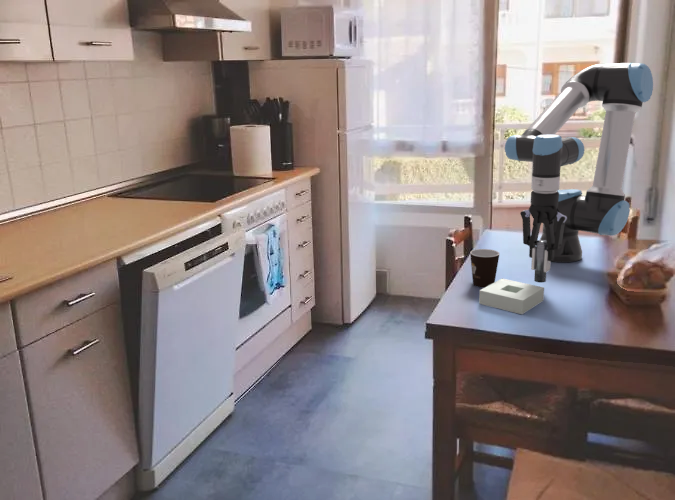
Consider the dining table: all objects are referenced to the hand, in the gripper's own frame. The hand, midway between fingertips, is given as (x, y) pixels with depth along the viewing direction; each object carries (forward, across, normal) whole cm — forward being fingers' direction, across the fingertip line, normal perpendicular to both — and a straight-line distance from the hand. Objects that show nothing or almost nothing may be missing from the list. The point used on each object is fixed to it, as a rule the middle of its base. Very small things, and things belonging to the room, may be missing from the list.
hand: (540, 269), depth 184 cm
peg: (+3, 0, 0) cm, 3 cm away
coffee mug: (+7, -17, -3) cm, 18 cm away
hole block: (+6, -2, -14) cm, 15 cm away
